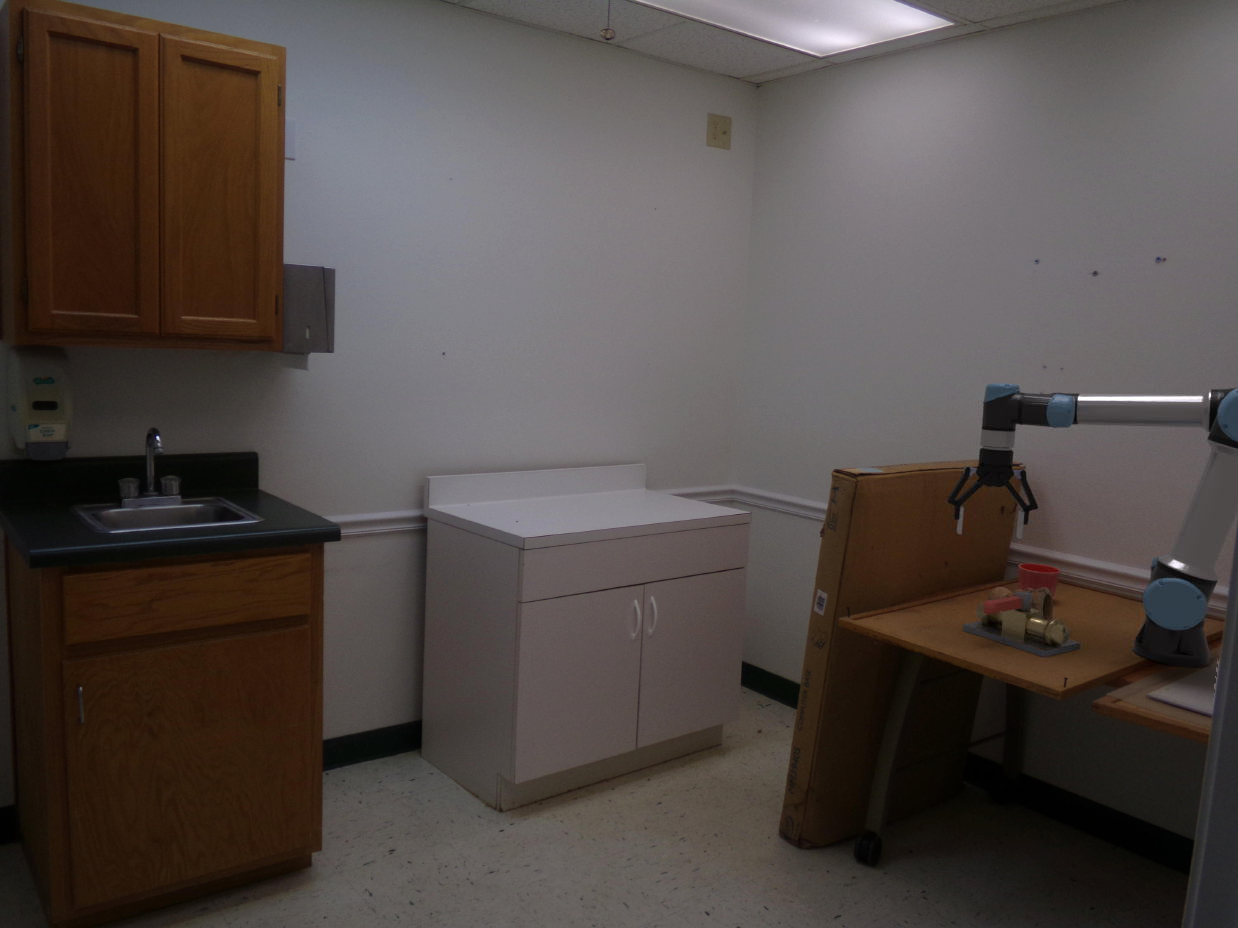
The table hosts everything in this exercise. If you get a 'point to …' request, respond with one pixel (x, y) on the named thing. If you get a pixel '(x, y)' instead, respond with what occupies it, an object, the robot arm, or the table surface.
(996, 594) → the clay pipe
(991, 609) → the lever
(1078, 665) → the table surface
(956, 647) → the table surface
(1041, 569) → the flower pot
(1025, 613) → the valve
